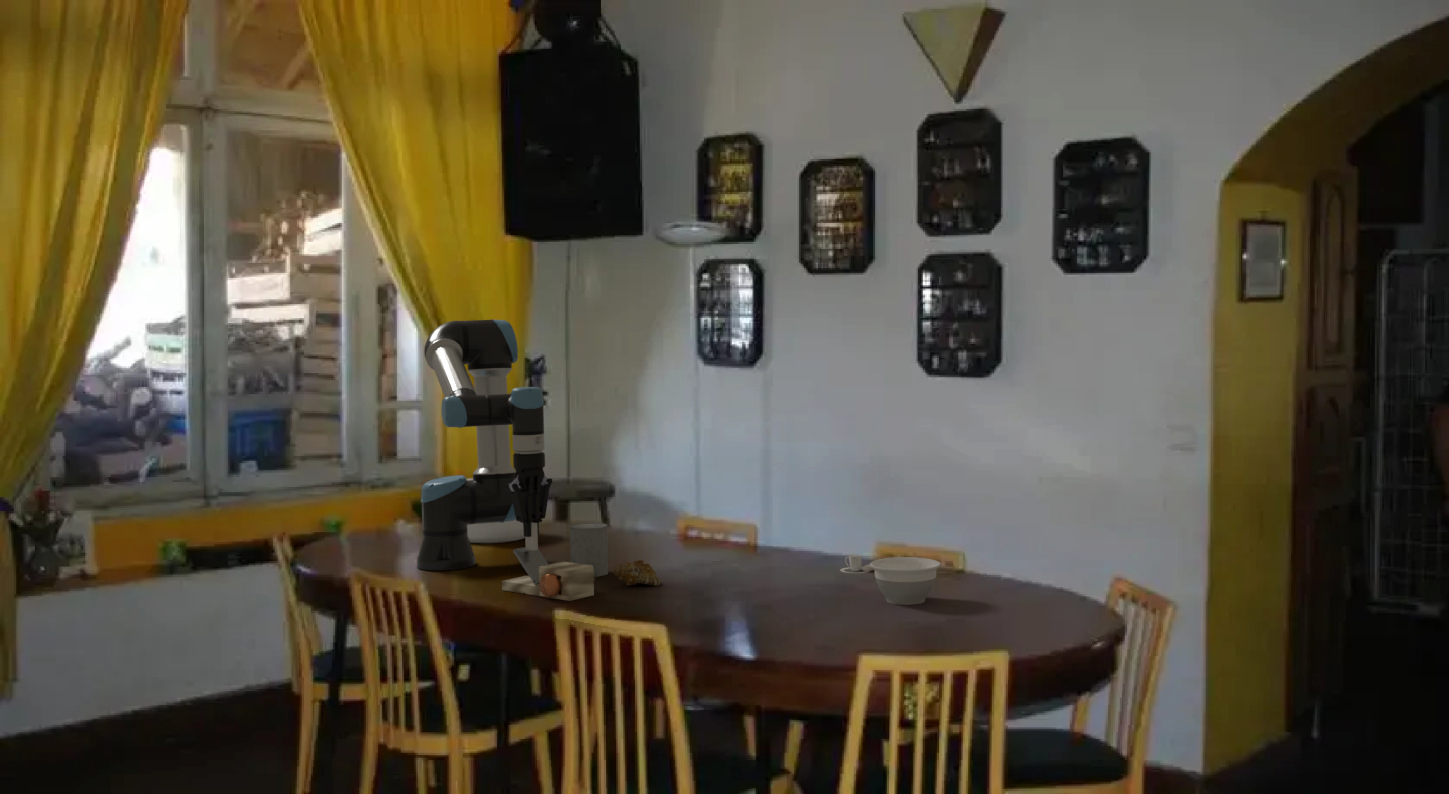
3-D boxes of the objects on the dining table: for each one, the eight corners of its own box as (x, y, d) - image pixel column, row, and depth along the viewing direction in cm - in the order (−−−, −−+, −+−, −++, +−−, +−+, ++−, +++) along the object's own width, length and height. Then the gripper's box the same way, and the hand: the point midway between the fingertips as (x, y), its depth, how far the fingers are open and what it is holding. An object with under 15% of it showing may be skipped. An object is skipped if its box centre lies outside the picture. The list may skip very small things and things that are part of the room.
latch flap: (512, 551, 348) (514, 548, 347) (533, 547, 353) (536, 544, 353) (535, 586, 344) (537, 583, 343) (556, 581, 349) (558, 578, 349)
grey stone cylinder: (602, 577, 364) (601, 528, 363) (565, 576, 366) (564, 528, 365) (612, 570, 373) (611, 523, 372) (577, 569, 375) (575, 522, 374)
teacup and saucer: (880, 571, 366) (880, 555, 366) (861, 576, 361) (860, 560, 360) (853, 568, 372) (853, 552, 372) (833, 572, 367) (833, 556, 366)
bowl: (923, 610, 318) (923, 572, 318) (858, 604, 327) (857, 566, 326) (952, 597, 332) (952, 560, 331) (889, 591, 340) (888, 555, 339)
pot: (527, 544, 416) (526, 486, 415) (442, 546, 417) (440, 487, 415) (540, 530, 442) (538, 475, 441) (460, 531, 442) (458, 476, 441)
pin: (539, 595, 339) (539, 573, 339) (582, 586, 350) (581, 564, 350) (555, 598, 336) (555, 576, 335) (597, 588, 347) (597, 566, 346)
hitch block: (502, 590, 350) (501, 561, 350) (526, 584, 357) (525, 556, 356) (569, 601, 336) (569, 571, 336) (594, 595, 342) (593, 565, 342)
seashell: (641, 602, 348) (620, 568, 346) (624, 602, 355) (604, 568, 353) (668, 580, 353) (647, 546, 351) (651, 580, 360) (631, 547, 358)
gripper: (519, 455, 340) (522, 555, 341) (559, 450, 350) (562, 547, 351) (497, 453, 345) (500, 552, 346) (537, 448, 355) (540, 544, 356)
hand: (531, 549), depth 349 cm, fingers closed
